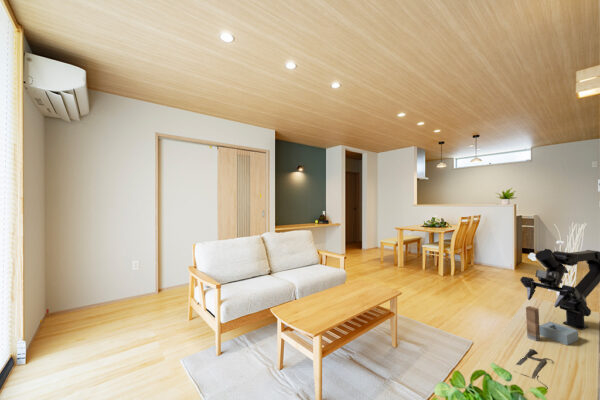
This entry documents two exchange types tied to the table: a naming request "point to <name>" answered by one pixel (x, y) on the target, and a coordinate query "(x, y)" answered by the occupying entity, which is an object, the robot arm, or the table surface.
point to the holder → (559, 333)
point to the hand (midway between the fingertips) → (541, 303)
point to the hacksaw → (531, 352)
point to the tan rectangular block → (533, 323)
